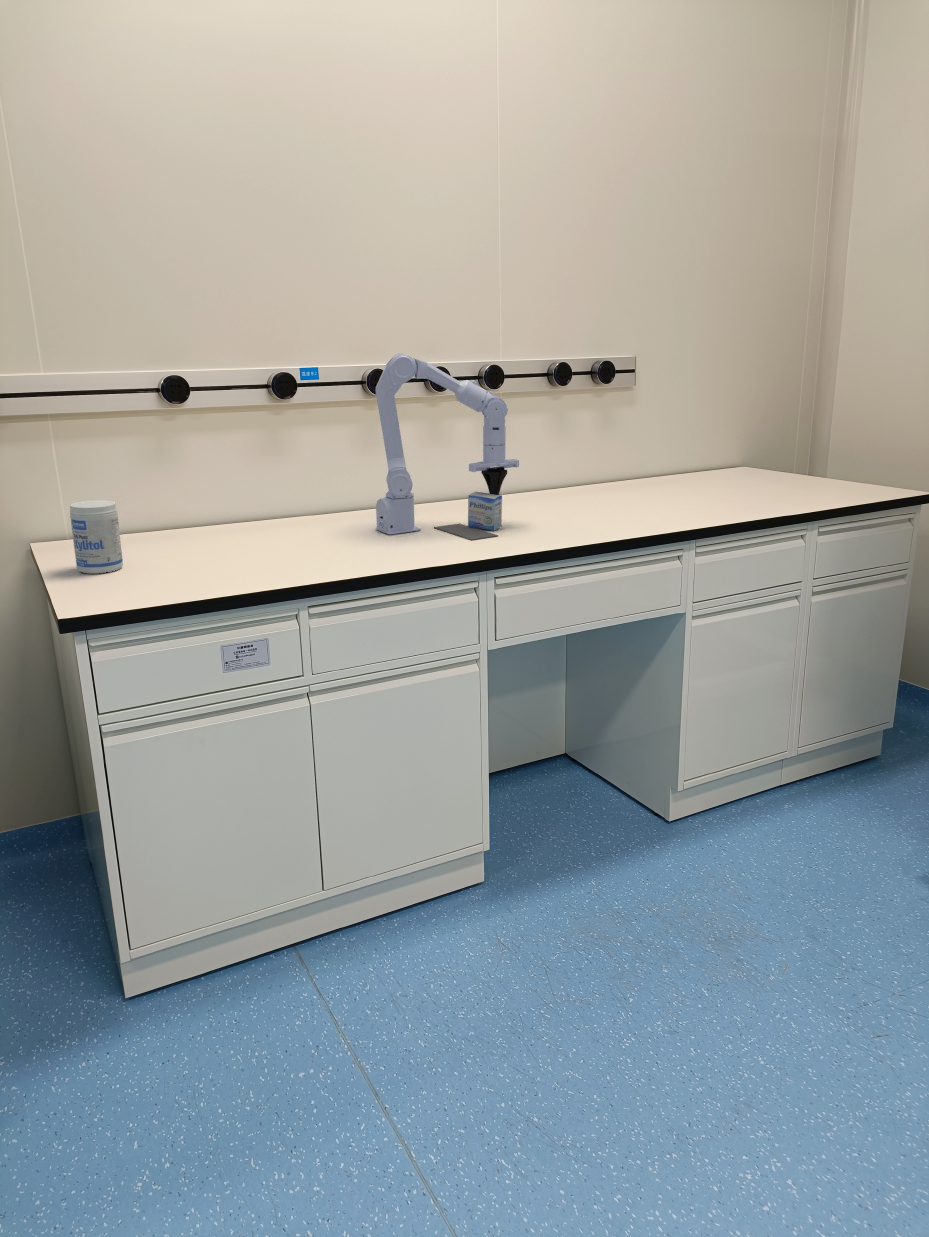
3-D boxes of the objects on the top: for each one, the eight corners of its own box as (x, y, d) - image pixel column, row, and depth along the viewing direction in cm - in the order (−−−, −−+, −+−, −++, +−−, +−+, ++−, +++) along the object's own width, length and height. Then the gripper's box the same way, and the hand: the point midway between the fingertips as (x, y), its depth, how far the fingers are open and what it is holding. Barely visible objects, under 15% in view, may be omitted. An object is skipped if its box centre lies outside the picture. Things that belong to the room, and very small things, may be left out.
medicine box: (467, 526, 234) (467, 494, 231) (475, 522, 238) (475, 490, 234) (494, 531, 231) (494, 499, 227) (502, 526, 234) (502, 494, 231)
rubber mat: (471, 540, 221) (471, 539, 221) (433, 528, 235) (433, 527, 235) (498, 536, 225) (498, 535, 225) (459, 524, 239) (459, 523, 239)
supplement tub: (73, 576, 192) (63, 508, 188) (82, 565, 201) (72, 500, 197) (120, 573, 194) (111, 506, 190) (127, 563, 203) (119, 498, 198)
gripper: (479, 448, 223) (479, 502, 227) (526, 443, 230) (525, 496, 234) (464, 445, 228) (464, 498, 232) (510, 441, 236) (509, 492, 240)
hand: (494, 497), depth 234 cm, fingers closed
